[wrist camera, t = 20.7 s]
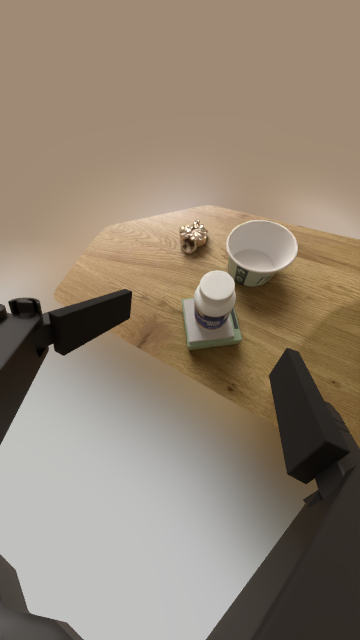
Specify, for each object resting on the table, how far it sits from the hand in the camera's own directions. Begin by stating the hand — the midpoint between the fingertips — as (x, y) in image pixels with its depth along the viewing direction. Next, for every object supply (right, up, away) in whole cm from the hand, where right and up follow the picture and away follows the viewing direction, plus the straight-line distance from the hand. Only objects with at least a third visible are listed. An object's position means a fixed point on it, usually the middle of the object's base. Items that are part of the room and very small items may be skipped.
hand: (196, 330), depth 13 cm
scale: (+4, 0, +18) cm, 18 cm away
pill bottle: (+4, +1, +14) cm, 15 cm away
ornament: (+2, +20, +26) cm, 32 cm away
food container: (+14, +12, +21) cm, 28 cm away
